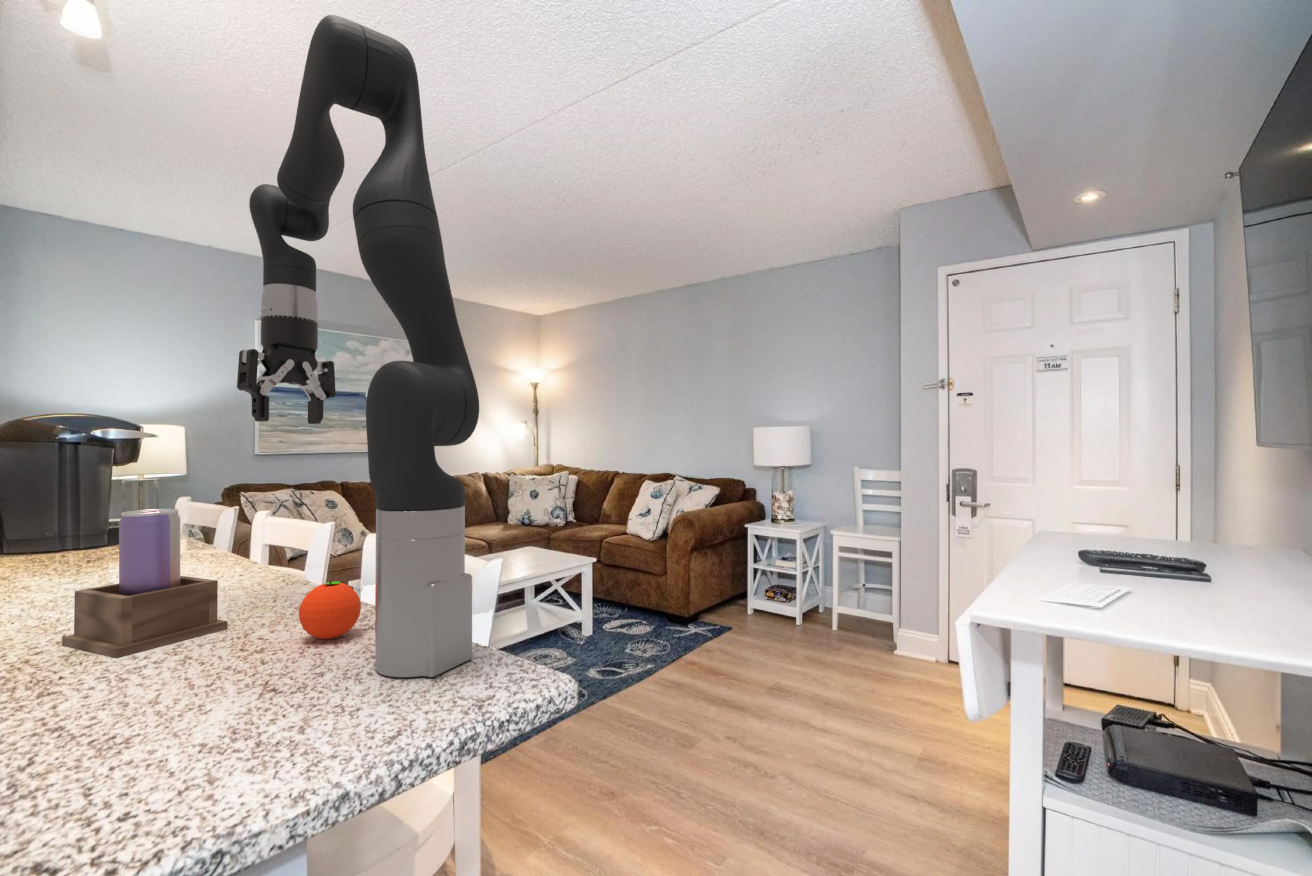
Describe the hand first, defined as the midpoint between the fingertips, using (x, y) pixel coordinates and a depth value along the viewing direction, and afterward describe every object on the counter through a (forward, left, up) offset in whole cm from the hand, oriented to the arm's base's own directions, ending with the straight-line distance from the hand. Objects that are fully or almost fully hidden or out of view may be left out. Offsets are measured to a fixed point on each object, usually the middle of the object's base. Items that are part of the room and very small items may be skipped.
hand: (289, 422), depth 91 cm
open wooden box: (+2, +17, -28) cm, 33 cm away
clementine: (-20, +8, -28) cm, 36 cm away
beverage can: (+2, +17, -27) cm, 32 cm away
